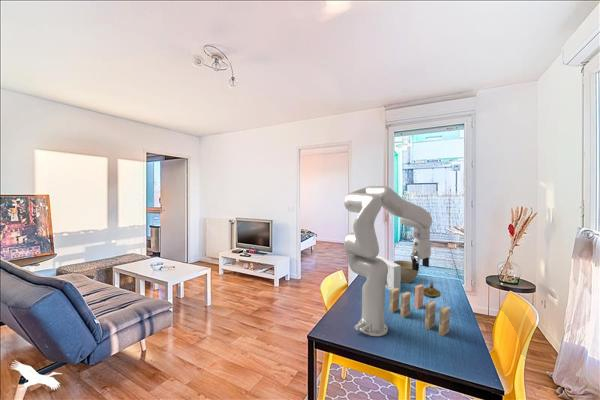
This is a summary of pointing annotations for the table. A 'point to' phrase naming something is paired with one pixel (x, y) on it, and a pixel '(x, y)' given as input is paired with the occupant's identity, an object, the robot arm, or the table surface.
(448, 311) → the tile
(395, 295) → the head tile
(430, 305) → the tile
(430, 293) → the seal
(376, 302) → the robot arm
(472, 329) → the table surface
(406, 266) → the planter bowl
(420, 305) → the tile
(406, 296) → the tile
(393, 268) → the skincare box
